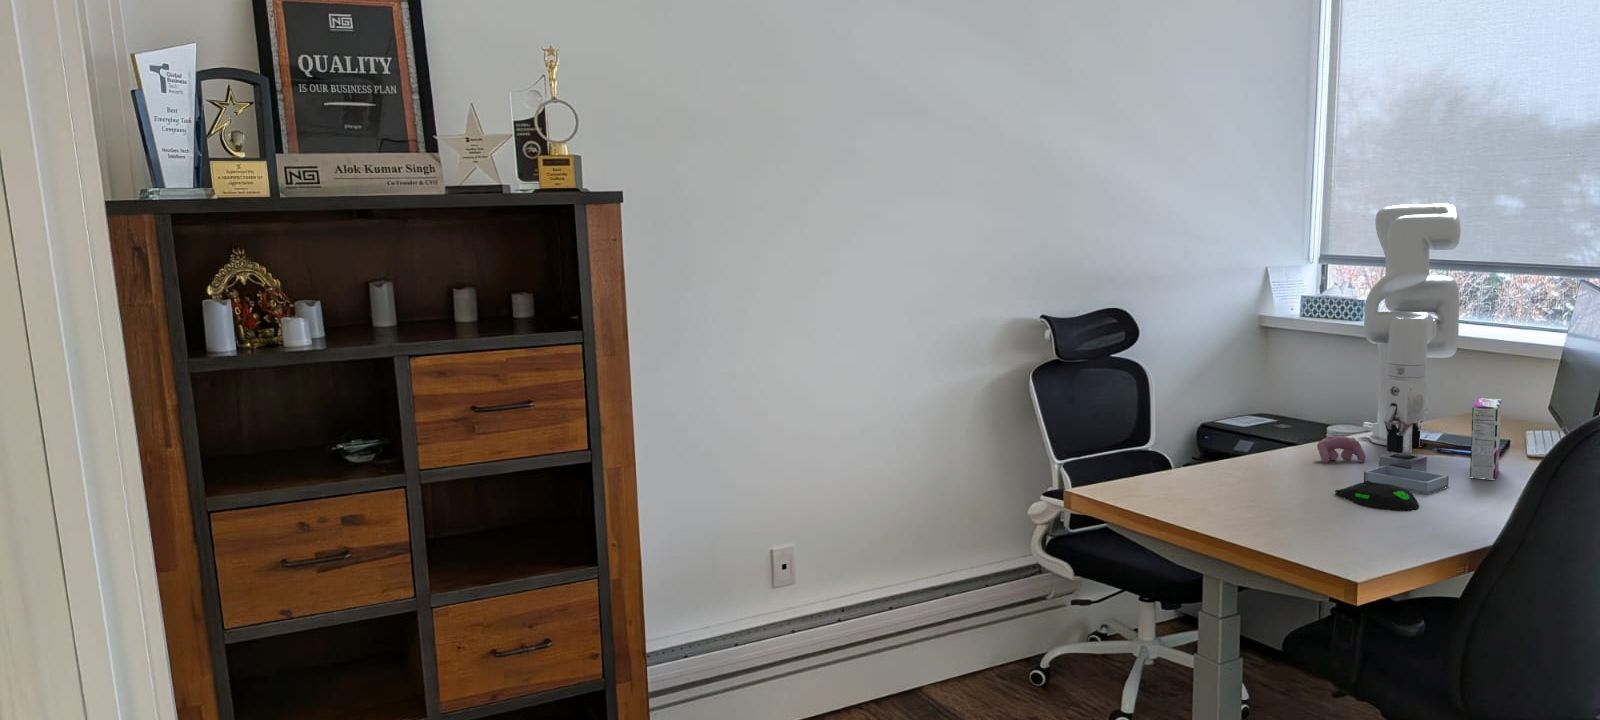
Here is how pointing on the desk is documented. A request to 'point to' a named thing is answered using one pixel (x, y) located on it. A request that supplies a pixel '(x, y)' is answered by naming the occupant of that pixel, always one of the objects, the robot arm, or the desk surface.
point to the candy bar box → (1485, 438)
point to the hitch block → (1404, 462)
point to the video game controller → (1340, 442)
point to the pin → (1405, 441)
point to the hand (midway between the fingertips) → (1403, 448)
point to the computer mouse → (1379, 496)
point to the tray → (1407, 479)
